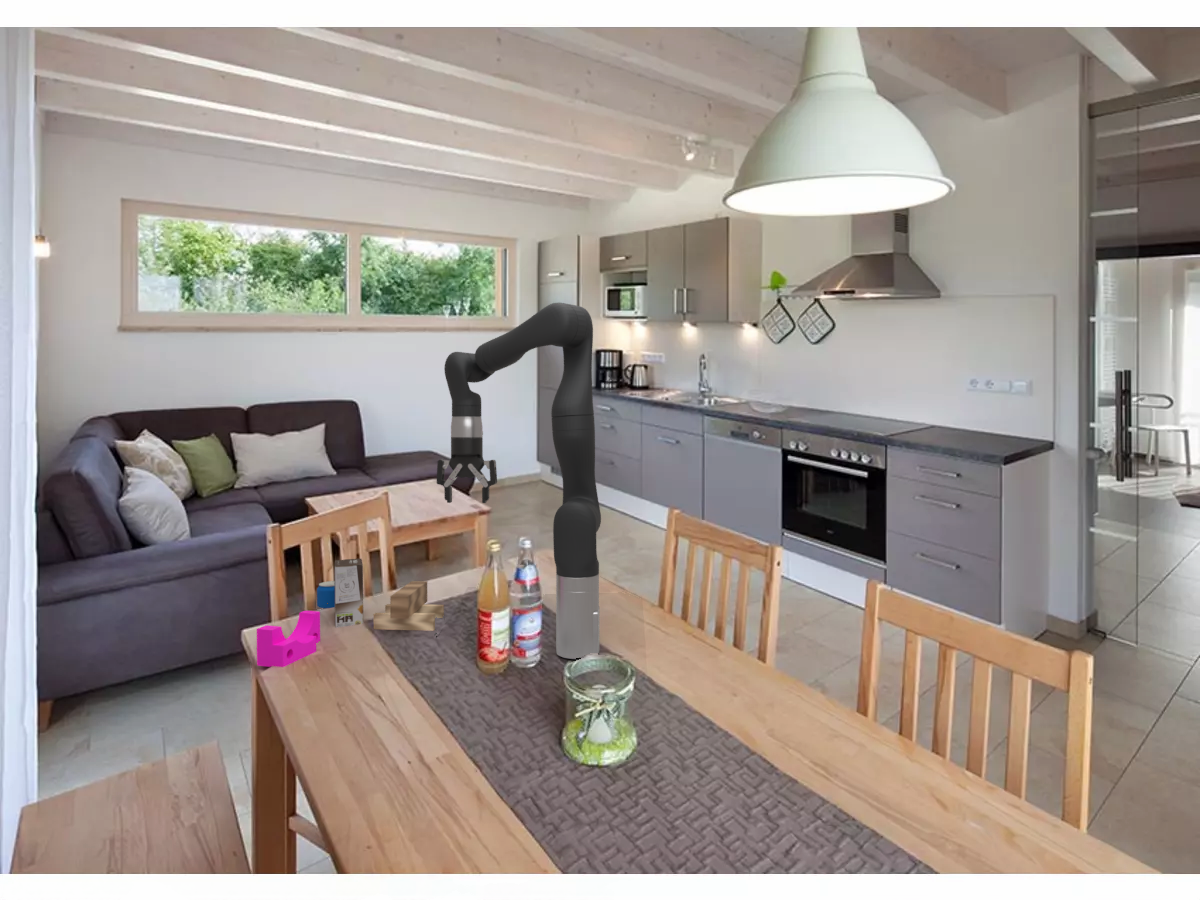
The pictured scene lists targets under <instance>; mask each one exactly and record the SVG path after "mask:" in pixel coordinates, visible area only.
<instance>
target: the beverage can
mask: <svg viewBox="0 0 1200 900" xmlns="http://www.w3.org/2000/svg"><path fill="white" fill-rule="evenodd" d="M327 603H328V604H327ZM316 606H317V607H318V608H321V609H333V608H335V580H333V581H332V580H330V581H329V580H328V581H324V582H320V583H318V587H317V588H316Z"/></svg>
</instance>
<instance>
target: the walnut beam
mask: <svg viewBox="0 0 1200 900" xmlns="http://www.w3.org/2000/svg"><path fill="white" fill-rule="evenodd" d="M389 597H390V598H389V599H390V601H389V602H390V603H389V604H390V618H409V617H410V616H411V615H413V614H414V613H415V612H416V611H417V610H418V609H419V608H420V607H422V606H423V605H424V604H426V603H427V602H428V581H426V580H423V581H422V580H419V581H418V580H417V581H415V580H414V581H412V580H411V581H410V582H408V583H406V585H404V586H402V587H401V588H400V589H398V590H397V591H396V592H395V593H393V594H392V595H390V596H389Z"/></svg>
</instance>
